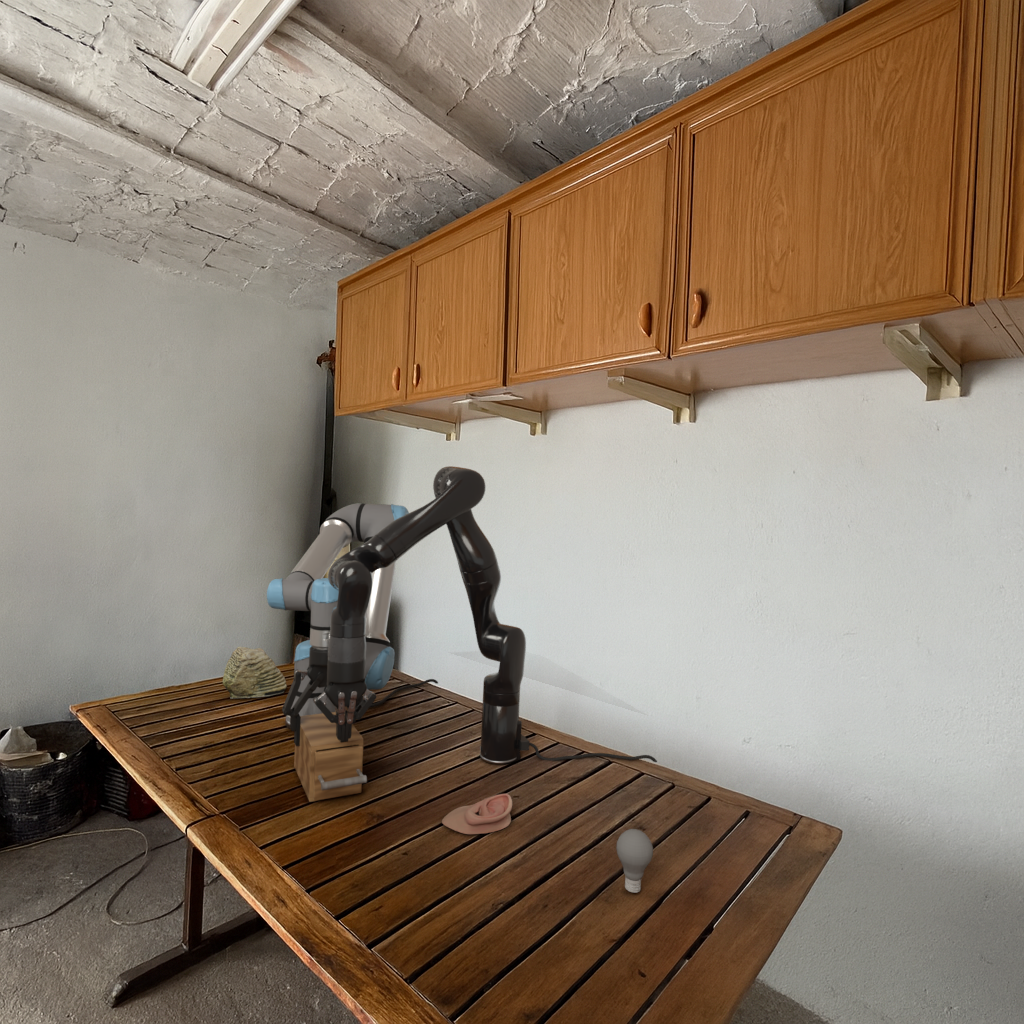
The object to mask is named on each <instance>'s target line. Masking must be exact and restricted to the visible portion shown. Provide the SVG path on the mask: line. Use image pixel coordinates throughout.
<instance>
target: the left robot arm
mask: <svg viewBox="0 0 1024 1024" xmlns="http://www.w3.org/2000/svg"><path fill="white" fill-rule="evenodd" d="M408 513H410V512H409V510H408V509H407V507H406V506H404V505H398V504H393V503H391V504H380V503H361V502H359V503H358V502H357V503H351V504H349V505H348V504H347V505H346V506H344V507H341V508H339V509H338V510H335V512H332V514H329V516H328V517H327V518H326V519H325V520H324V521H323V523H322V524H321V525H320V527H319V534H318V535H317V537H316V538H315V539H314V540H313V542H312V543H311V545H310V546H309V547H308V548H307V550H306V551H305V553H304V554H303V555H302V557H301V558H300V560H299V561H298V562H297V563H296V565H295V566H294V568H293V569H292V570H291V572H289V574H288V576H286V578H283V577H280V578H275V579H272V580H271V581H270V582H269V584H268V586H267V590H266V601H267V604H268V606H269V607H270V608H271V609H275V610H284V611H297V612H298V611H300V612H310V628H309V629H310V630H309V639H307V640H304V641H302V642H300V643H298V644H297V645H296V647H295V654H294V659H293V661H294V670H293V680H292V683H291V686H290V688H289V690H288V693H287V696H286V698H285V700H284V702H283V705H282V708H281V711H282V714H283V716H285V726H286V728H287V729H289V730H290V731H291V732H293V743H294V746H295V745H296V746H300V722H301V717H300V716H305V715H314V714H322V712H321V710H320V709H319V708H318V707H317V706H316V704H315V703H314V701H313V699H314V697H319V696H320V695H321V694H322V693H323V692H324V688H325V686H326V684H327V666H328V656H327V652H328V645H329V639H330V624H331V622H330V621H331V613H332V610H333V609H334V608H335V607H336V606H337V601H338V593H339V591H338V590H336V589H334V588H333V587H332V586H331V584H330V583H329V580H328V577H325V575H326V573H327V572H329V569H330V567H331V566H332V565H333V563H334V562H335V561H336V560H337V559H336V558H337V557H338V555H340V552H342V550H343V549H344V548H346V547H348V546H349V545H350V544H351V543H353V542H356V543H357V542H358V543H359V542H360V543H363V544H364V543H366V542H367V541H369V540H370V539H371V538H372V537H373V536H374V535H376V534H377V533H378V532H380V531H381V530H382V529H383V528H385V527H386V526H387V525H389V524H390V523H391V522H393V521H395V520H396V519H398V518H400V517H402V516H404V515H406V514H408ZM396 565H397V561H395V562H394V563H393V564H391V565H390V566H388V567H386V568H380V569H377V570H376V571H374V572H373V573H372V591H371V596H370V600H369V605H368V608H367V611H366V630H365V639H366V662H365V683H366V685H367V689H368V690H369V691H372V690H375V691H376V690H377V691H378V690H382V689H383V688H384V687H385V686H386V685H387V684H388V683H389V681H390V678H391V677H392V676H391V675H392V673H393V670H394V666H395V657H396V654H395V649H394V648H393V647H392V646H390V645H391V641H390V640H389V638H388V637H387V628H388V620H389V613H390V606H391V600H392V593H393V586H394V579H395V573H396V567H397V566H396ZM428 683H435V684H437V685H438V684H439V681H438V680H436V679H434V678H429V679H425V680H424V681H420V682H418V683H414V684H409V685H405V686H400V687H398V688H396V689H394V690H392V692H390V693H389V694H387V695H386V696H385V697H384V698H383V699H382V700H380V701H377V702H375V703H374V702H373V703H372V704H371V706H370V707H369V708H368V709H371V708H375V707H379V706H381V705H383V704H384V703H385V702H386V701H387V700H388V699H390V698H391V697H393V696H394V695H395V694H396V693H399V692H400V691H404V690H407V689H411V688H416V687H420V686H423V685H426V684H428ZM326 700H327V704H326V705H325V706H326V707H327V708H328V709H329V710H330V712H336V710H335V706H334V705H333V704H332V702H331V701H330V700H329V698H328V697H327V698H326ZM362 700H363V696H362V697H361V698H360V700H359V701H358V703H357V704H356V705H355V709H356V708H357V707H358V705H359V704H360V703H361V701H362ZM356 722H357V720H355V721H353V723H352V724H356Z"/></svg>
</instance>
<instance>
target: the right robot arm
mask: <svg viewBox="0 0 1024 1024" xmlns="http://www.w3.org/2000/svg"><path fill="white" fill-rule="evenodd" d="M432 483H433V486H432V490H433V494H434V495H433V496H434V497H435V498H434V499H433V500H431V501H430V502H428V503H427V504H424V505H423V506H420V507H419V508H417V509H415V510H413V511H410V512H409V513H408V514H406V515H404V516H402V517H400V518H398V519H396V520H395V521H393V522H391V523H390V524H389V525H387V526H386V527H385V528H383V529H382V530H381V531H380V532H378V533H377V534H376V535H374V536H373V537H372V538H371V539H370V540H369V541H367V542H366V543H364V542H363V543H362V544H360V545H358V546H356V547H355V548H353V549H351V550H349V551H348V552H346V553H344V554H343V555H341V556H340V557H339V558H338V559H335V560H334V562H333V563H332V565H331V566H330V568H329V569H328V571H327V572H328V574H327V578H328V580H329V583H330V584H331V586H332V587H333V588H334V589H336V590H338V591H339V593H338V601H337V606H336V607H335V608H334V609H333V610H332V613H331V621H330V622H331V624H330V639H329V645H328V652H327V656H328V666H327V684H326V686H325V688H324V692H323V693H322V694H321V695H320V696H319V697H314V699H313V701H314V703H315V704H316V706H317V707H318V708H319V709H320V710H321V712H322V713H323V714H324V715H325V716H326V718H327V719H328V720H329V721H330V722H331V723H336V737H337V739H338V740H339V741H340V742H341V743H342V742H348V739H350V738H351V734H352V724H354V723H353V721H355V720H356V721H357V720H358V721H360V720H361V719H362V718H363V717H364V715H365V714H366V713H367V711H369V709H370V708H369V707H370V706H371V704H374V702H375V700H376V699H377V695H376V693H375V692H374V691H372V690H368V689H367V685H366V683H365V662H366V639H365V630H366V611H367V608H368V605H369V600H370V596H371V591H372V573H373V572H374V571H376V570H377V569H380V568H386V567H388V566H390V565H391V564H393V563H394V562H395V561H396V562H397V561H398V560H399V559H400V558H402V556H404V555H405V554H406V553H408V552H409V551H410V550H412V549H413V548H414V547H416V546H417V544H419V543H420V542H422V541H423V540H425V538H427V537H428V536H430V535H431V534H433V533H434V532H436V531H437V530H439V529H441V528H442V527H444V526H445V525H446V527H447V530H448V533H449V536H450V537H449V538H450V540H451V544H452V547H453V550H454V553H455V557H456V561H457V566H458V570H459V572H460V575H461V580H462V582H463V585H464V589H465V591H466V595H467V598H468V603H469V606H470V611H471V614H472V619H473V626H474V631H475V637H476V642H477V646H478V650H479V652H480V653H481V655H482V656H483V657H484V658H486V659H487V660H490V661H493V662H494V661H495V662H498V663H499V667H498V671H497V672H492V673H490V674H486V676H485V677H484V678H483V684H482V685H483V686H482V707H481V708H482V709H481V710H482V711H481V713H482V714H481V731H480V732H481V734H480V744H479V750H480V751H479V758H480V759H481V761H483V762H485V763H488V764H492V765H509V764H512V763H514V762H517V761H518V760H519V761H520V760H521V752H524V751H526V752H527V751H530V747H531V748H533V749H534V750H535V755H536V757H537V758H538V759H540V760H542V761H553V762H554V761H556V762H557V761H559V762H560V761H565V760H576V759H577V760H578V759H585V758H591V757H604V758H611V759H612V758H613V759H618V760H626V761H636V760H642V759H649V760H651V761H652V762H653V763H658V760H657V759H656V758H655V757H653V756H652V755H651V754H650V755H649V754H641V755H636V756H627V755H626V756H625V755H619V754H613V753H603V752H590V753H583V754H576V755H564V756H563V755H562V756H558V757H545V756H543V755H541V754H540V751H539V747H538V746H537V745H536V744H535V743H533V742H530V740H529V739H527V737H526V736H525V735H524V734H522V730H523V729H522V727H523V722H522V720H521V719H520V702H521V701H520V699H521V684H522V681H523V677H524V672H525V661H526V654H527V653H526V652H527V651H526V650H527V637H526V634H525V632H524V631H523V629H522V628H520V627H518V626H514V625H509V624H504V623H501V622H500V621H499V619H498V616H497V611H496V608H495V601H496V598H497V595H498V592H499V591H500V590H499V589H500V586H501V582H502V574H501V569H500V566H499V561H498V558H497V557H498V556H497V554H496V552H495V549H494V548H493V546H492V544H491V542H490V541H489V539H488V538H487V536H486V535H485V533H484V532H483V530H482V529H481V527H480V526H479V524H478V522H477V521H476V519H475V516H474V514H473V510H472V509H473V508H475V507H477V506H478V505H479V504H480V503H481V502H482V500H483V498H484V496H485V494H486V481H485V479H484V477H483V476H482V475H481V473H480V472H478V471H477V470H473V469H470V468H466V467H459V466H453V465H452V466H449V465H448V466H444V467H442V468H440V469H439V470H437V472H436V474H435V476H434V478H433V482H432ZM362 696H363V700H362V701H361V703H360V704H359V705H358V707H357V708H356V709H355V705H356V704H357V703H358V701H359V700H360V698H361V697H362ZM327 697H328V698H329V700H330V701H331V702H332V704H333V705H334V706H335V710H336V715H334V714H332V713H331V712H330V710H329V709H328V708H327V707H326V706H325V705H326V704H327V700H326V698H327ZM344 713H345V715H344Z"/></svg>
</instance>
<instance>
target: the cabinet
mask: <svg viewBox="0 0 1024 1024" xmlns="http://www.w3.org/2000/svg"><path fill="white" fill-rule="evenodd" d="M331 713H332V714H334V715H336V712H331ZM344 715H345V713H344ZM300 717H301V722H300V746H296V745H295V744H294V757H293V760H294V762H293V767H294V769H295V772H296V774H297V776H298V779H299V781H300V783H301V785H302V789H303V791H304V792H305V795H306V797H307V800H308V803H312V802H313V803H314V802H317V801H324V800H328V799H334V798H339V797H347V796H351V795H356V794H362V791H363V789H362V788H363V784H361V792H359V793H353V794H348V795H342V796H336V797H331V798H325V799H320V800H314V799H313V789H314V763H315V752H316V750H323V749H330V748H337V747H344V746H351V745H355V746H360V745H362V747H363V748H364V741H365V740H364V738H363V736H362V735H361V733H360V732H359V731H358V730H357V728H356V726H355V725H354V723H352V734H351V738H350V739H348V742H342V743H341V742H340V741H339V740H338V739H337V737H336V723H331V722H330V721H329V720H328V719H327V718H326V716H325V715H324V714H323V713H322V714H314V715H305V716H300ZM363 764H364V755H363V756H362V769H363Z"/></svg>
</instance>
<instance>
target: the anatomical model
mask: <svg viewBox="0 0 1024 1024" xmlns="http://www.w3.org/2000/svg"><path fill="white" fill-rule="evenodd" d="M512 809H513V799H512V796H511V795H510V794H509V793H500V794H496V795H492V796H489V797H486V798H484V799H482V800H480V801H478V802H476V803H473V804H470V805H463V806H462V805H461V806H459V807H457V808H455V809H453V810H451V811H450V812H448V813H447V814H446V815H445V816H444V817H443V818H442V819H441V824H443V826H445V827H446V828H449V829H450V830H452V831H455V832H458V833H461V834H464V835H480V834H482V835H483V834H488V833H489V834H490V833H494V832H497V831H500V830H504V829H505V828H507V827H509V825H510V824H511V823H512V818H511V817H512V816H511V812H512Z"/></svg>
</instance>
